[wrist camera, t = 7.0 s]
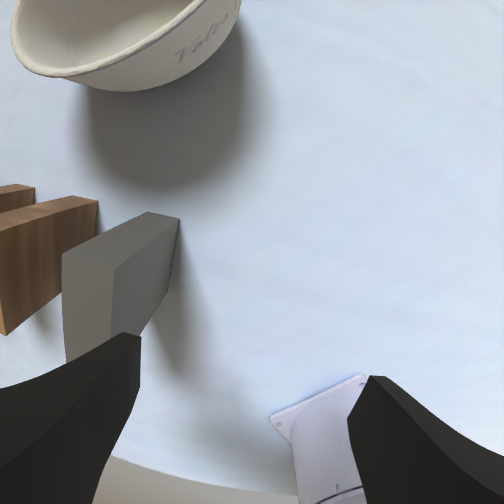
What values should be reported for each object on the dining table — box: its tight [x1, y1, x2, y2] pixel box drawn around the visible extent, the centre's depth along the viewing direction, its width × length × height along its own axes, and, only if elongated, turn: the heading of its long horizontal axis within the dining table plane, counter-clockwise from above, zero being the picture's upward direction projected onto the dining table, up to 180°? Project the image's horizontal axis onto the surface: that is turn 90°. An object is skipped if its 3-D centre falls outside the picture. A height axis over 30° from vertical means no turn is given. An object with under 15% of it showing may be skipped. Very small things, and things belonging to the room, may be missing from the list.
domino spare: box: [62, 212, 180, 363], centre depth 13 cm, size 2×5×9 cm, turn 166°
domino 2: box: [0, 196, 98, 336], centre depth 13 cm, size 2×5×9 cm, turn 166°
